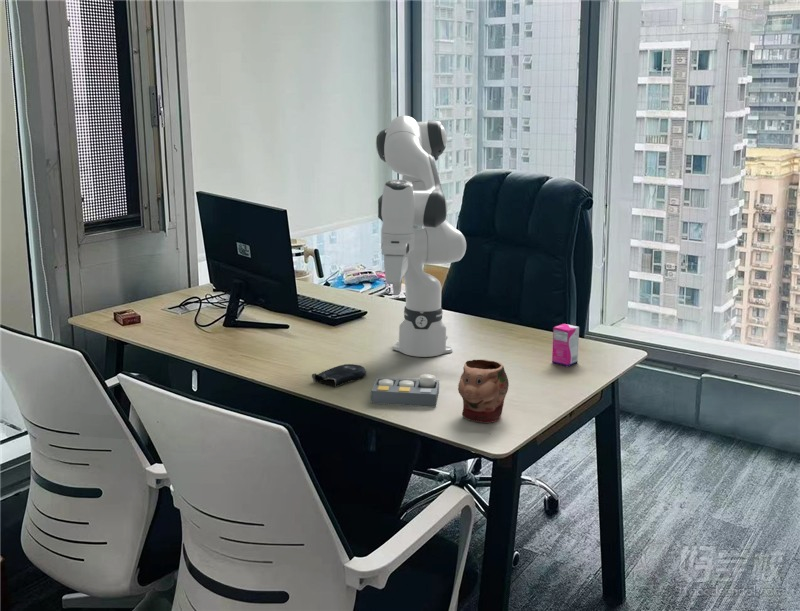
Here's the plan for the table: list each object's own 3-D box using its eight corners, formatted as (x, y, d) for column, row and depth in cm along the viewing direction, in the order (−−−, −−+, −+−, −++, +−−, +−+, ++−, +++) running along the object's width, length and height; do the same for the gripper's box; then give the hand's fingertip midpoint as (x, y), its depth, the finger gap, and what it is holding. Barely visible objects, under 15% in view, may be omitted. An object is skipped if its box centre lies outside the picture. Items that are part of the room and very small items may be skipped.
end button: (379, 387, 231) (379, 378, 231) (394, 388, 231) (394, 379, 230) (377, 392, 228) (377, 383, 227) (392, 393, 227) (392, 384, 226)
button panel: (377, 389, 234) (377, 376, 233) (438, 392, 232) (439, 379, 231) (371, 403, 223) (371, 389, 222) (435, 407, 221) (436, 393, 220)
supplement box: (561, 358, 263) (564, 322, 260) (578, 363, 259) (580, 326, 256) (550, 362, 259) (553, 326, 256) (567, 367, 255) (569, 330, 252)
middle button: (400, 388, 231) (400, 379, 230) (414, 389, 230) (414, 380, 230) (398, 393, 227) (398, 384, 226) (413, 394, 226) (413, 385, 226)
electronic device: (338, 395, 234) (373, 374, 245) (334, 376, 232) (369, 355, 243) (313, 392, 240) (349, 371, 251) (309, 373, 238) (345, 353, 249)
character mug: (470, 398, 228) (472, 348, 224) (515, 404, 224) (517, 354, 220) (448, 424, 210) (450, 371, 206) (496, 432, 206) (499, 378, 202)
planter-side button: (420, 382, 230) (420, 373, 229) (435, 383, 229) (435, 374, 229) (419, 387, 226) (419, 378, 225) (434, 388, 225) (434, 379, 225)
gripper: (391, 235, 234) (390, 284, 238) (380, 249, 215) (380, 302, 218) (413, 236, 234) (412, 285, 237) (405, 250, 214) (404, 303, 217)
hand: (397, 293), depth 227 cm, fingers closed
